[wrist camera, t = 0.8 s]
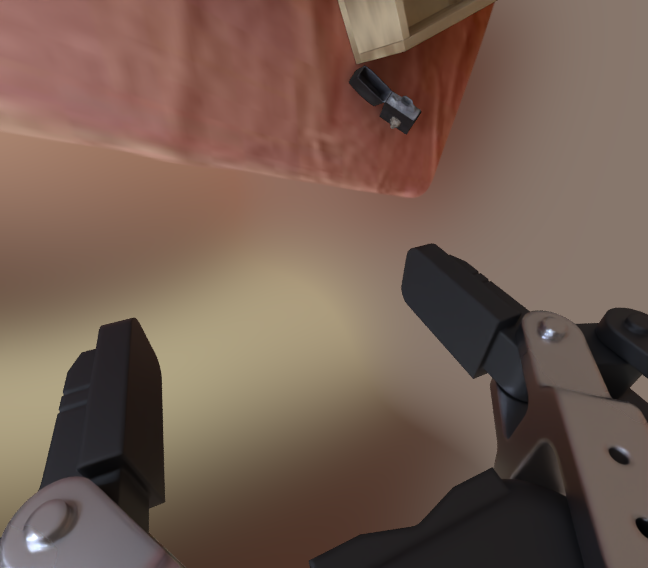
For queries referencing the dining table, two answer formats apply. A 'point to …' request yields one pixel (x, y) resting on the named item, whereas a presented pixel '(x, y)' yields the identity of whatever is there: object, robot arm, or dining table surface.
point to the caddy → (399, 23)
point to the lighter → (385, 99)
